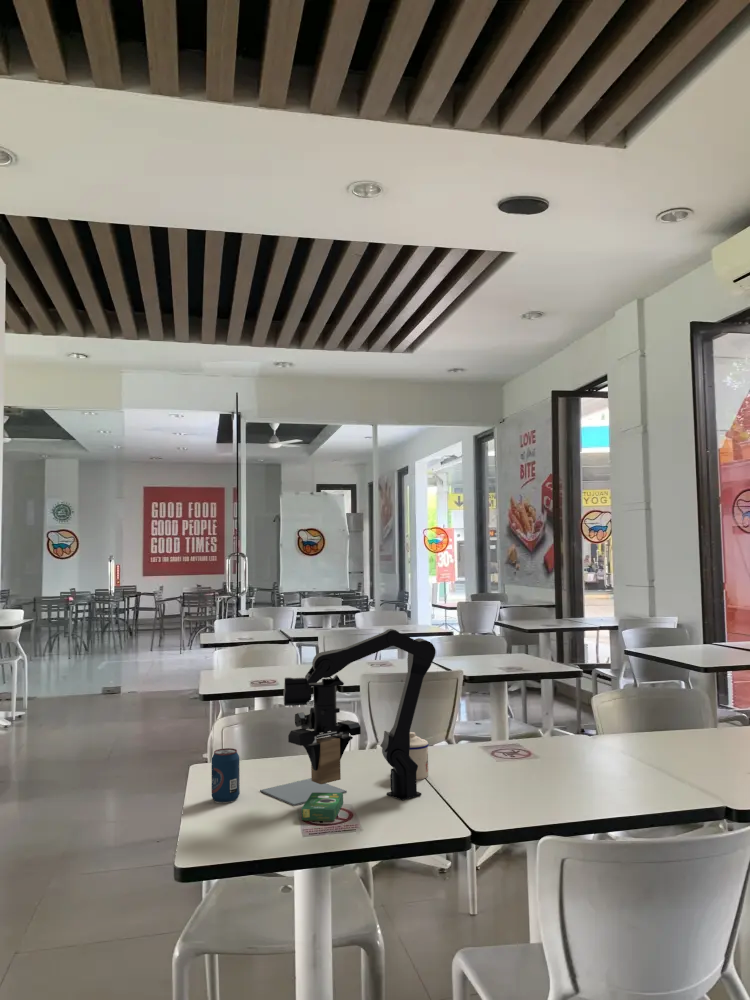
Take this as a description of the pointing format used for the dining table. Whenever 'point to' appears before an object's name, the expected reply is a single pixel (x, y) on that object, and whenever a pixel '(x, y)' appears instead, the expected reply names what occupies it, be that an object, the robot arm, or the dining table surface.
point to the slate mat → (300, 791)
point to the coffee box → (322, 806)
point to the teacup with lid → (419, 755)
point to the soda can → (225, 775)
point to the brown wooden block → (327, 761)
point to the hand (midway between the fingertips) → (325, 767)
